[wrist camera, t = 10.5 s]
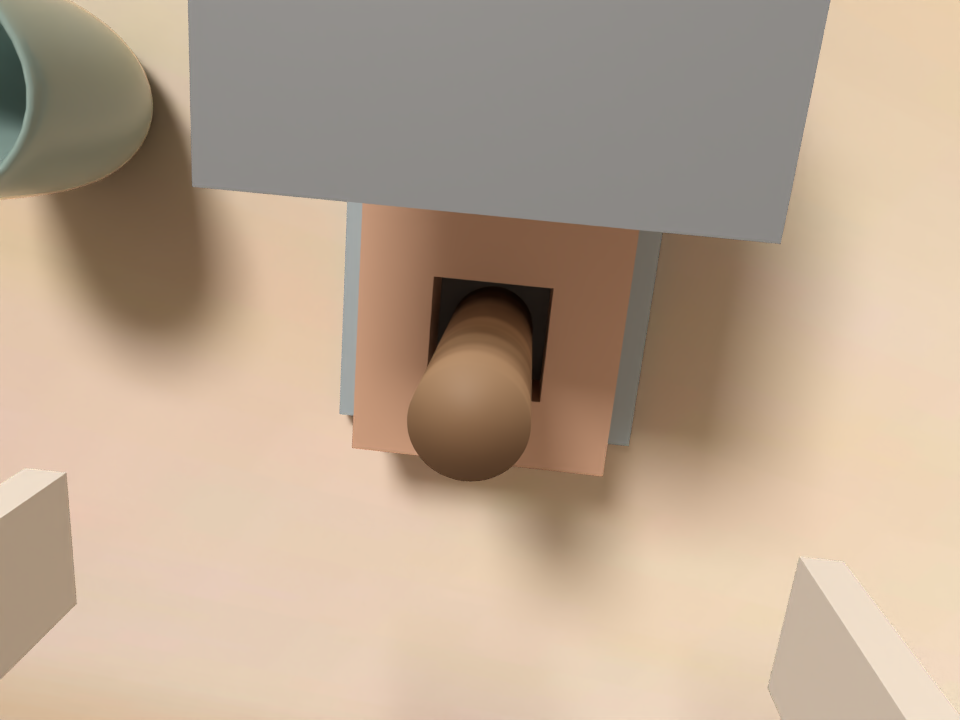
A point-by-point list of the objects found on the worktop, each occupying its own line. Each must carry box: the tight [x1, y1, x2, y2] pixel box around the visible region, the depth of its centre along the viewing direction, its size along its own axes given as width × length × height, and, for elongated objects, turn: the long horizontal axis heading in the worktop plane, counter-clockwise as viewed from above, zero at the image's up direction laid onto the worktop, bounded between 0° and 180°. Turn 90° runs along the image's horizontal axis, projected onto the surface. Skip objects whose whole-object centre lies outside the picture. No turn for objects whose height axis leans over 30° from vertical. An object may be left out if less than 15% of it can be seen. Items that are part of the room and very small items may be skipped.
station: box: [188, 0, 830, 476], centre depth 25 cm, size 14×25×16 cm, turn 175°
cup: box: [0, 0, 153, 200], centre depth 28 cm, size 8×8×10 cm
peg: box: [407, 286, 533, 481], centre depth 27 cm, size 4×4×12 cm
